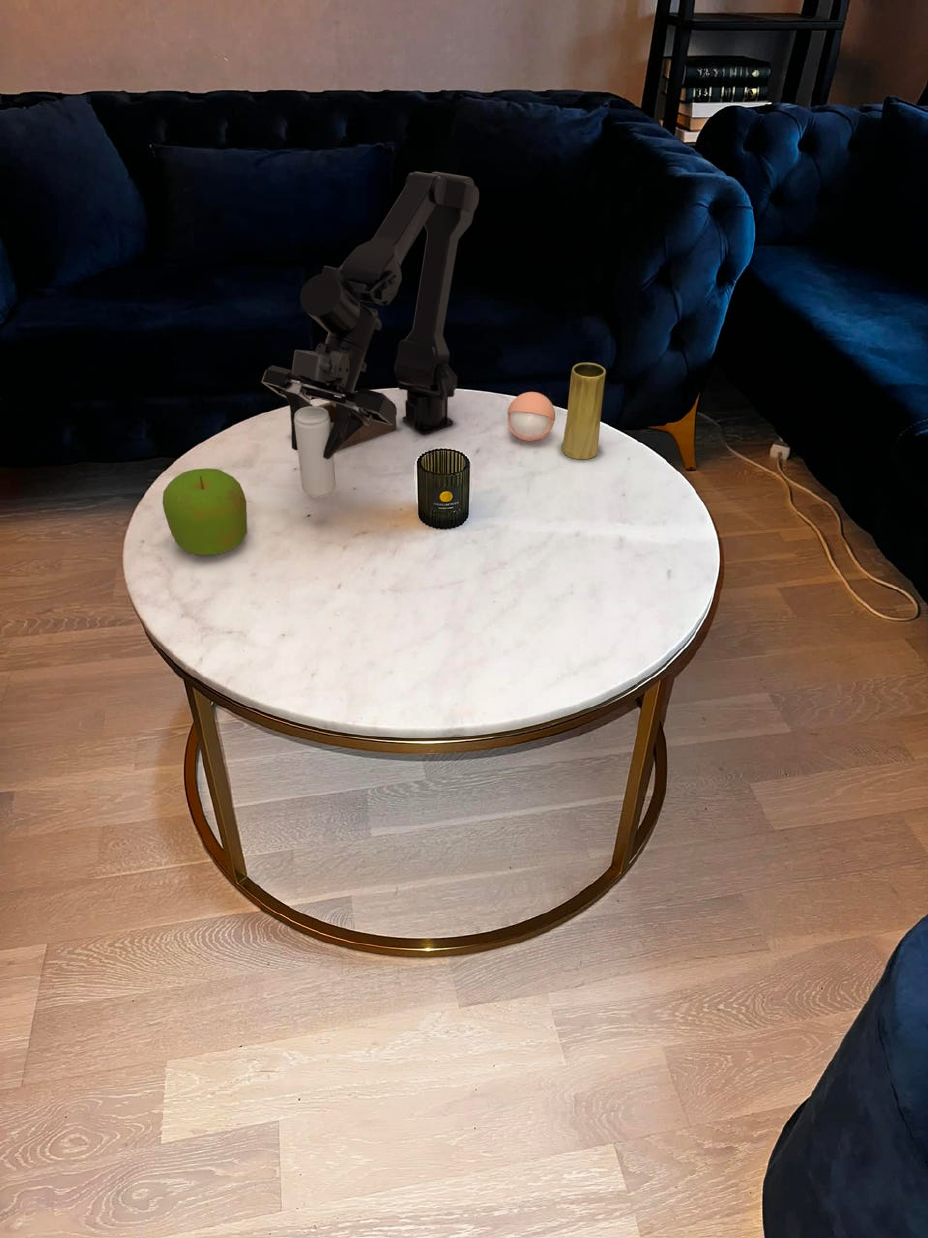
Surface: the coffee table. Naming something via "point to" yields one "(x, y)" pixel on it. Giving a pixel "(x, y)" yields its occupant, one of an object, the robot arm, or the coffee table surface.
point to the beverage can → (314, 451)
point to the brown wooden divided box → (364, 431)
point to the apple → (205, 511)
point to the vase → (584, 411)
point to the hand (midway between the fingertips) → (309, 453)
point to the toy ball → (531, 416)
